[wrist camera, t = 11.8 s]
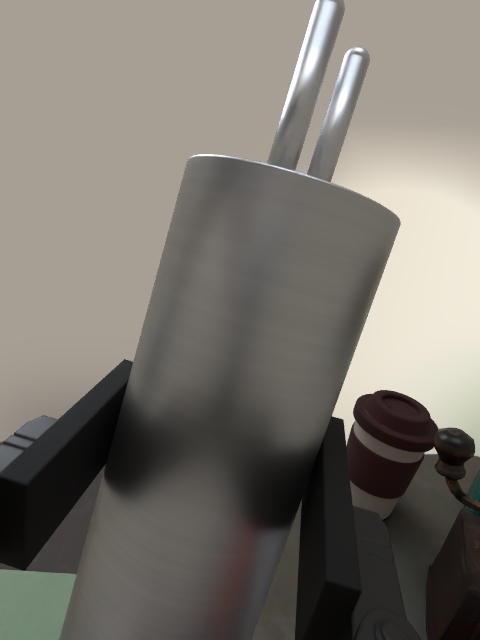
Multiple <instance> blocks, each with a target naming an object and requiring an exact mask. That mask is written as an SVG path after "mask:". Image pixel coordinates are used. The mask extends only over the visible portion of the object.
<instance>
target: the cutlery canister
mask: <svg viewBox="0 0 480 640" xmlns="http://www.w3.org/2000/svg"><path fill="white" fill-rule="evenodd" d="M344 10H345V9H344V1H343V0H317V1H316V3H315V5H314V8H313V12H312V15H311V19H310V22H309V25H308V29H307V32H306V35H305V39H304V42H303V45H302V49H301V52H300V55H299V59H298V62H297V65H296V69H295V72H294V76H293V79H292V82H291V85H290V89H289V92H288V95H287V99H286V102H285V105H284V109H283V112H282V116H281V119H280V122H279V125H278V129H277V132H276V135H275V139H274V143H273V145H272V149H271V152H270V156H269V159H268V163H263V162H259V161H254V160H249V159H244V158H238V157H232V156H224V155H213V154H212V155H211V154H202V155H195V156H192V157H190V158H189V159H188V161H187V164H186V168H185V171H184V175H183V179H182V183H181V186H180V190H179V194H178V197H177V201H176V205H175V209H174V212H173V216H172V220H171V223H170V227H169V231H168V235H167V238H166V242H165V246H164V250H163V253H162V257H161V261H160V265H159V268H158V272H157V276H156V280H155V283H154V287H153V291H152V295H151V298H150V302H149V306H148V309H147V313H146V317H145V321H144V324H143V328H142V332H141V336H140V339H139V343H138V347H137V351H136V354H135V358H134V362H133V365H132V369H131V373H130V377H129V380H128V384H127V388H126V392H125V395H124V399H123V403H122V407H121V410H120V414H119V418H118V421H117V425H116V429H115V433H114V436H113V440H112V444H111V448H110V451H109V455H108V459H107V463H106V466H105V470H104V474H103V477H102V481H101V485H100V489H99V492H98V496H97V500H96V504H95V507H94V511H93V515H92V519H91V522H90V526H89V530H88V533H87V537H86V541H85V545H84V548H83V552H82V556H81V560H80V563H79V567H78V571H77V575H76V578H75V582H74V586H73V590H72V593H71V597H70V601H69V604H68V608H67V612H66V616H65V619H64V623H63V627H62V631H61V634H60V638H59V640H251V638H252V636H253V633H254V630H255V627H256V624H257V622H258V619H259V616H260V613H261V611H262V608H263V605H264V602H265V599H266V597H267V594H268V591H269V588H270V586H271V583H272V580H273V577H274V574H275V572H276V569H277V566H278V563H279V561H280V558H281V555H282V552H283V549H284V547H285V544H286V541H287V538H288V536H289V533H290V530H291V527H292V524H293V522H294V519H295V516H296V513H297V511H298V508H299V505H300V502H301V499H302V497H303V494H304V491H305V488H306V486H307V483H308V480H309V477H310V474H311V472H312V469H313V466H314V463H315V461H316V458H317V455H318V452H319V449H320V447H321V444H322V441H323V438H324V436H325V433H326V430H327V427H328V424H329V422H330V419H331V416H332V413H333V411H334V408H335V405H336V402H337V399H338V397H339V394H340V391H341V388H342V385H343V382H344V380H345V377H346V374H347V371H348V369H349V366H350V363H351V361H352V358H353V355H354V352H355V349H356V347H357V344H358V341H359V338H360V335H361V333H362V330H363V327H364V324H365V321H366V319H367V316H368V313H369V310H370V308H371V305H372V302H373V299H374V296H375V294H376V291H377V288H378V285H379V283H380V280H381V277H382V274H383V272H384V269H385V266H386V263H387V260H388V258H389V255H390V252H391V249H392V247H393V244H394V241H395V238H396V235H397V233H398V230H399V227H400V219H399V218H398V217H397V216H396V215H395V214H394V213H393V212H391V211H390V210H389V209H387V208H385V207H384V206H382V205H381V204H379V203H377V202H375V201H373V200H371V199H369V198H367V197H365V196H363V195H361V194H359V193H356V192H354V191H351V190H349V189H347V188H344V187H341V186H339V185H336V184H333V183H331V179H332V176H333V173H334V170H335V167H336V164H337V161H338V157H339V154H340V151H341V148H342V145H343V142H344V139H345V136H346V133H347V130H348V127H349V124H350V120H351V118H352V114H353V112H354V109H355V105H356V102H357V99H358V96H359V93H360V90H361V87H362V84H363V81H364V78H365V75H366V72H367V69H368V65H369V61H370V58H369V53H368V52H367V50H366V49H365V48H363V47H360V46H356V47H353V48H351V49H350V50H349V51H348V52H347V53H346V54H345V57H344V59H343V62H342V65H341V69H340V72H339V75H338V78H337V81H336V84H335V87H334V91H333V94H332V97H331V100H330V103H329V107H328V110H327V113H326V116H325V119H324V122H323V126H322V129H321V132H320V135H319V138H318V141H317V145H316V148H315V151H314V154H313V157H312V160H311V164H310V167H309V170H308V173H307V174H304V173H301V172H297V171H295V169H296V166H297V163H298V160H299V157H300V153H301V150H302V147H303V144H304V140H305V137H306V134H307V131H308V128H309V124H310V121H311V118H312V115H313V112H314V108H315V105H316V102H317V98H318V95H319V92H320V89H321V86H322V83H323V79H324V76H325V73H326V70H327V66H328V63H329V60H330V57H331V53H332V50H333V47H334V44H335V40H336V38H337V34H338V31H339V28H340V25H341V21H342V18H343V15H344Z"/></svg>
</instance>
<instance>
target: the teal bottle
mask: <svg viewBox="0 0 480 640" xmlns="http://www.w3.org/2000/svg"><path fill="white" fill-rule="evenodd" d="M467 496H469V497H470V498H472V499H474V500H476V501H478V502H480V469H479V471H478V473H477V475H476V477H475V479H474V481H473V483H472V485H471V487H470V489H469V491H468V493H467ZM465 510H467V511H469V512H472V513H474V514H476V515H478V516H480V512H477V511H475V510H473V509H471V508H469V507H467V506H465Z"/></svg>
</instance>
